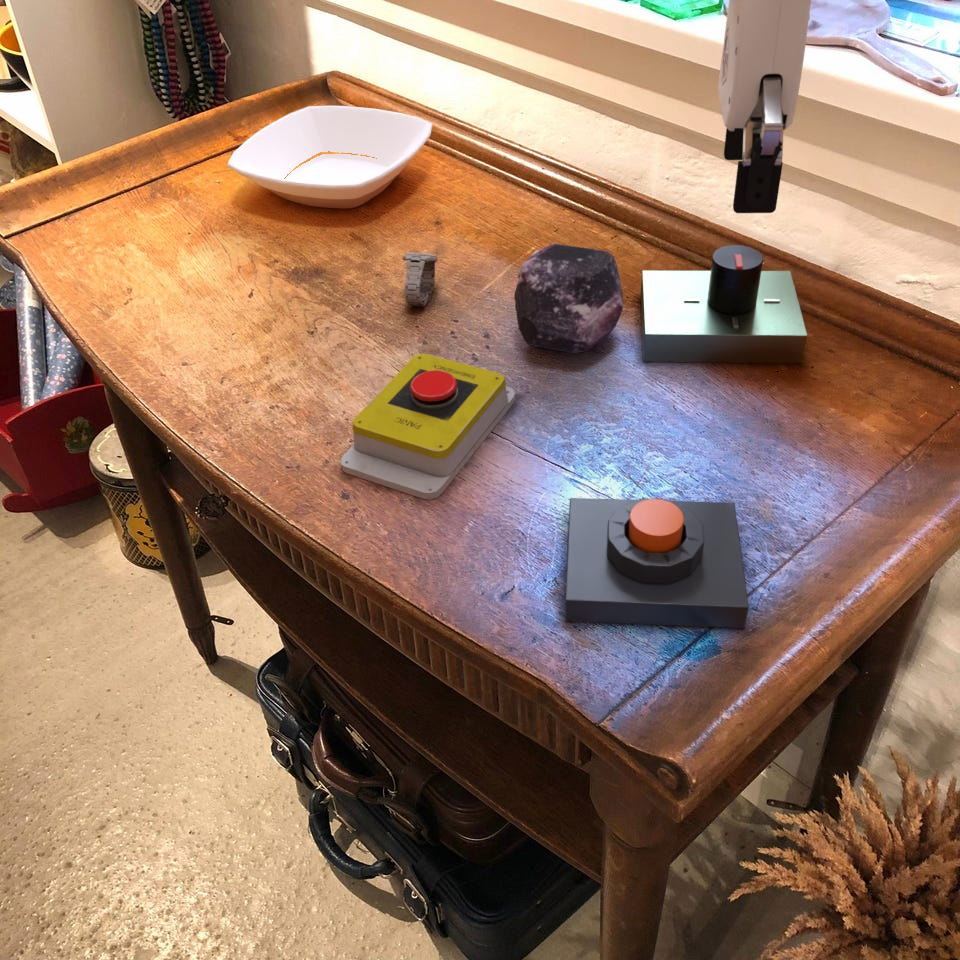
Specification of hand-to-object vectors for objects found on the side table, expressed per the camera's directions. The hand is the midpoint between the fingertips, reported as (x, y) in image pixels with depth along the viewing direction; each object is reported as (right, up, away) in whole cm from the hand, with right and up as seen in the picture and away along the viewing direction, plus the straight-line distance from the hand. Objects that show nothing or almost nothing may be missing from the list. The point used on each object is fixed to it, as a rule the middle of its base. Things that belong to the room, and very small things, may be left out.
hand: (747, 183), depth 79 cm
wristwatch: (-28, -6, +19) cm, 34 cm away
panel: (0, -10, +12) cm, 16 cm away
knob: (+1, -8, +10) cm, 13 cm away
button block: (-10, -31, -10) cm, 34 cm away
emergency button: (-26, -20, +3) cm, 33 cm away
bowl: (-39, +12, +40) cm, 57 cm away
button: (-10, -28, -12) cm, 32 cm away
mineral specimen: (-14, -11, +12) cm, 21 cm away
